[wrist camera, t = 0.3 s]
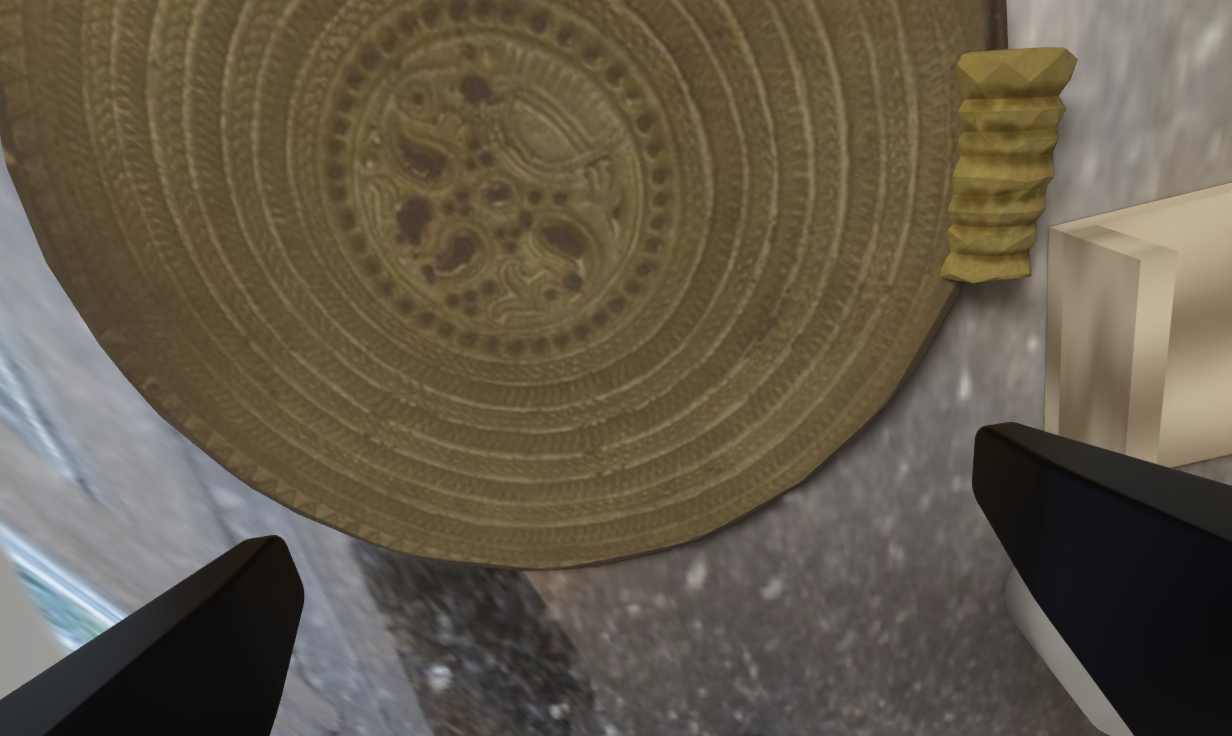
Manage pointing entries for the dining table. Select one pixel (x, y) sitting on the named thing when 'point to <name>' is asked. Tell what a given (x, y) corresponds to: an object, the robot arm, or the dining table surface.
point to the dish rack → (1143, 329)
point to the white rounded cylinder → (1060, 657)
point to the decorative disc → (524, 241)
